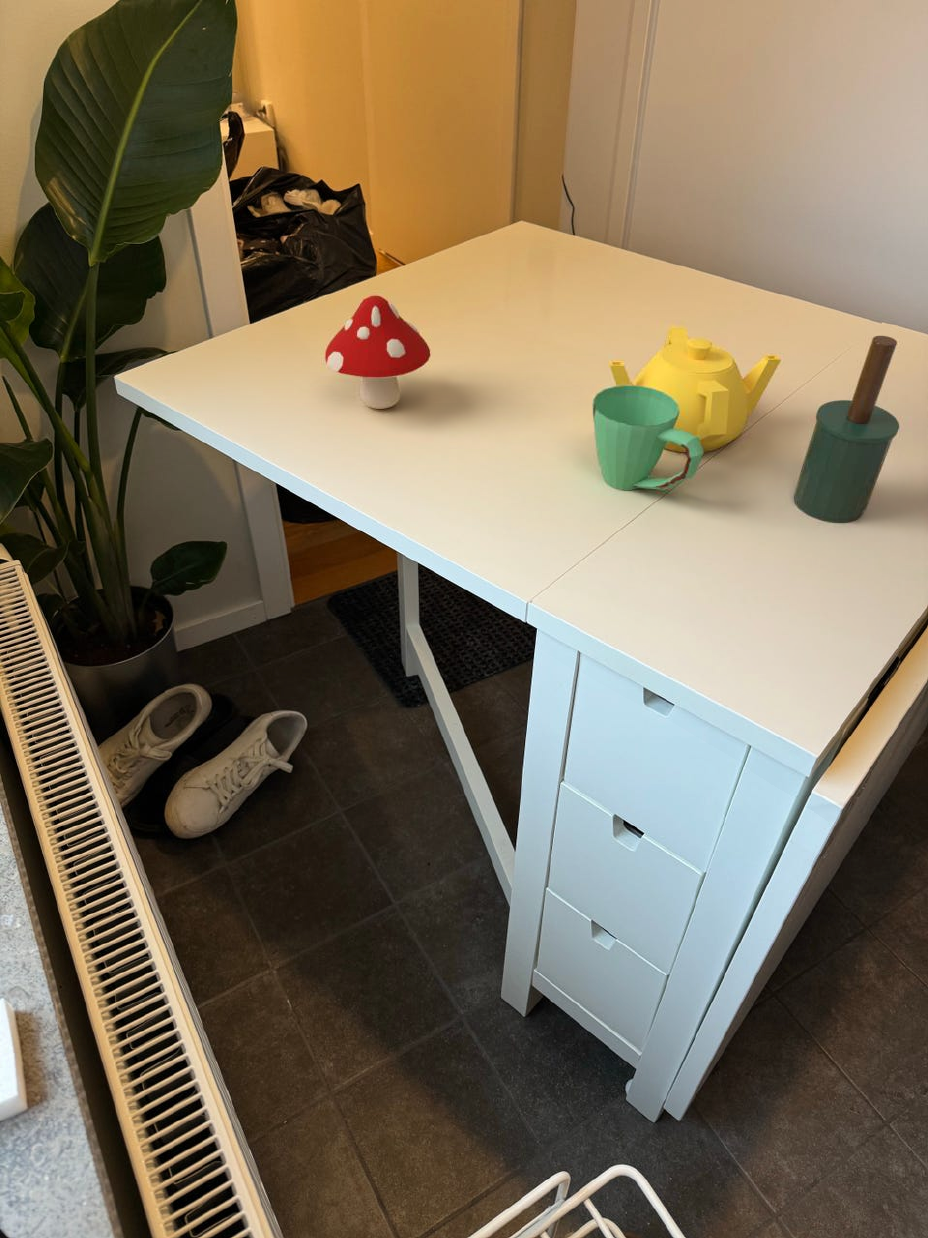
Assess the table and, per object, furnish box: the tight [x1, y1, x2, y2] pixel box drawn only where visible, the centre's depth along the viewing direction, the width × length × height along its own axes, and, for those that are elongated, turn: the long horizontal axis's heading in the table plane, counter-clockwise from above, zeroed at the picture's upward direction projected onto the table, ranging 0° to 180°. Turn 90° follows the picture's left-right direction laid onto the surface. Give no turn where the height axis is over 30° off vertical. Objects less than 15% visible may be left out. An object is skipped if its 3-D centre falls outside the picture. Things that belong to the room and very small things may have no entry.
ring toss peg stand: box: [815, 335, 900, 443], centre depth 95 cm, size 9×9×10 cm
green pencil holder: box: [793, 420, 893, 524], centre depth 102 cm, size 8×8×10 cm
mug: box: [592, 385, 704, 491], centre depth 104 cm, size 15×10×10 cm
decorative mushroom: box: [324, 295, 431, 410], centre depth 116 cm, size 14×14×15 cm
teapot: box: [608, 326, 782, 453], centre depth 114 cm, size 17×17×12 cm
